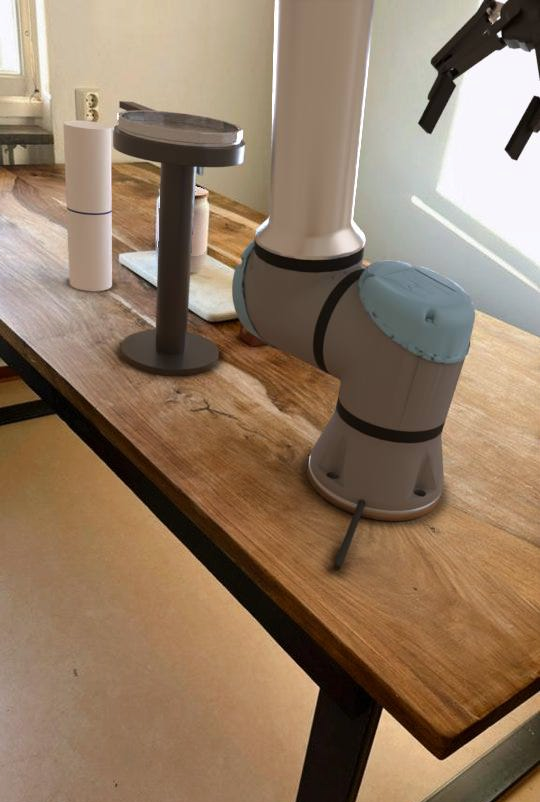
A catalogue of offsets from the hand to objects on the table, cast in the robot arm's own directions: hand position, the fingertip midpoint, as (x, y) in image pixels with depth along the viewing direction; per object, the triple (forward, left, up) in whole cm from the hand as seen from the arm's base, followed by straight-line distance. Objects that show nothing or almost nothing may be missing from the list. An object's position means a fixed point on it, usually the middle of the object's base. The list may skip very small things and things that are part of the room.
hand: (465, 141), depth 88 cm
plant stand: (-7, +37, -32) cm, 50 cm away
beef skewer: (+8, +17, -32) cm, 37 cm away
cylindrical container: (+12, +56, -32) cm, 65 cm away
